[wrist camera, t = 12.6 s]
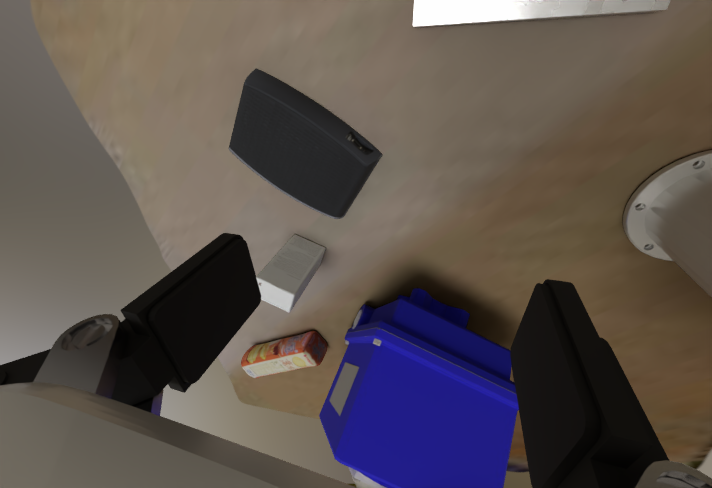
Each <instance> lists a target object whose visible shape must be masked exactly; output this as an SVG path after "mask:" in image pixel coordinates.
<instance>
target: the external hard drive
mask: <svg viewBox="0 0 712 488" xmlns="http://www.w3.org/2000/svg"><path fill="white" fill-rule="evenodd" d="M229 150H230V151H231V152H232V153H233V154H234V155H235V156H236V157H237V158H238V159H239V160H240V161H241V162H243V163H244V164H245V165H246V166H247V167H249V168H250V169H251V170H252V171H253V172H255V173H256V174H257V175H259V176H260V177H261V178H263V179H264V180H265V181H267V182H268V183H270V184H271V185H272V186H274V187H275V188H277V189H278V190H280V191H281V192H283V193H284V194H286V195H288V196H289V197H291V198H293V199H294V200H296V201H298V202H300V203H302V204H303V205H305V206H307V207H309V208H311V209H313V210H315V211H317V212H319V213H322V214H324V215H326V216H328V217H331V218H334V219H340V218H343V217H344V216H345V214H346V212H347V211H348V209H349V207H350V206H351V204H352V203H353V201H354V199H355V198H356V196H357V195H358V193H359V192H360V190H361V188H362V187H363V185H364V184H365V182H366V180H367V179H368V177H369V175H370V174H371V172H372V170H373V169H374V167H375V166H376V164H377V162H378V161H379V159H380V158H381V157H382V154H381V153H380V152H379V151H378V149H376V148H375V147H374V146H373V145H372V144H371V143H370V142H368V141H367V140H366V139H365V138H364V137H362V136H361V135H360V134H359V133H357V132H356V131H355V130H354V129H352V128H351V127H350V126H349V125H347V124H346V123H344V122H343V121H342V120H340V119H339V118H338V117H336V116H335V115H334V114H332V113H331V112H329V111H328V110H327V109H325V108H324V107H322V106H321V105H319V104H318V103H316V102H315V101H313V100H312V99H310V98H308V97H307V96H305V95H304V94H302V93H301V92H299V91H297V90H296V89H294V88H292V87H291V86H289V85H287V84H285V83H284V82H282V81H280V80H278V79H276V78H275V77H273V76H271V75H269V74H267V73H265V72H263V71H261V70H258V69H255V70H254V71H252V72H251V73H250V74H249V76H248V77H247V78H246V80H245V82H244V86H243V90H242V94H241V99H240V103H239V107H238V112H237V116H236V120H235V124H234V128H233V133H232V136H231V141H230V145H229Z"/></svg>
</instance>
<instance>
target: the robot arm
mask: <svg viewBox="0 0 712 488" xmlns="http://www.w3.org/2000/svg"><path fill="white" fill-rule="evenodd" d="M637 204H638V205H637ZM623 227H624V231H625V234H626V235H627V237H628V239H629V240H630V241H631V242H632V243H633V245H634V246H635V247H636V248H638V249H639V250H640V251H641V252H643V253H645V254H647V255H649V256H652V257H654V258H658V259H662V260H668V261H674V262H675V263H676V264H677V265H678V266H679V267H680V268H682V269H683V270H684V271H685V272H686V273H687V274H688V275H689V276H690V277H691V278H692V279H693V280H694V281H695V282H696V283H697V284H698V285H699V286H700V287H701V288H702V289H703V290H704V291H705V292H706V293H707V294H708V295H709V296H710V297H712V150H709V151H705V152H701V153H696V154H694V155H691V156H688V157H685V158H683V159H680V160H678V161H676V162H674V163H672V164H670V165H668V166H666V167H664V168H663V169H661V170H660V171H658V172H657V173H655V174H653V175H652V176H651V177H650V178H648V179H647V180H646V181H645V182H644V183H643V184H642V185H640V187H639V188H638V189H637V190H636V191H635V192H634V194H633V195H632V196H631V198H630V200H629V201H628V203H627V205H626V208H625V211H624V214H623ZM260 301H261V293H260V290H259V286H258V282H257V279H256V275H255V271H254V268H253V264H252V261H251V257H250V253H249V250H248V246H247V243H246V241H245V240H243V238H242V236H240V235H236V234H229V233H223V234H221V235H220V236H219V237H217V238H216V239H215V240H213V241H212V242H211V243H209V244H208V245H207V246H205V247H204V248H203V249H201V250H200V251H199V252H197V253H196V254H195V255H193V256H192V257H191V258H189V259H188V260H187V261H185V262H184V263H183V264H181V265H180V266H179V267H177V268H176V269H175V270H173V271H172V272H171V273H169V274H168V275H167V276H165V277H164V278H163V279H161V280H160V281H159V282H157V283H156V284H155V285H153V286H152V287H151V288H149V289H148V290H147V291H145V292H144V293H143V294H142V295H140V296H139V297H138V298H136V299H135V300H133V301H132V302H131V303H129V304H128V305H127V306H125V307H124V308H123V309H121V312H122V313H123V315H124V317H125V318H126V319H125V320H124V321H122V322H120V320H119V319H118V317H117V316H115V315H112V314H103V315H96V316H93V317H90V318H87V319H85V320H83V321H81V322H79V323H77V324H75V325H73V326H72V327H70V328H69V329H67V330H66V331H65V332H64V333H63V334H61V335H60V337H59V338H58V339H57V340H56V342H55V343H54V345H53V347H52V348H51V349H49V350H47V351H44V352H40V353H37V354H34V355H31V356H28V357H25V358H22V359H19V360H15V361H12V362H9V363H6V364H3V365H0V488H357V487H354V486H351V485H349V484H346V483H343V482H340V481H338V480H335V479H332V478H330V477H327V476H324V475H321V474H319V473H316V472H313V471H310V470H308V469H305V468H302V467H300V466H297V465H294V464H291V463H289V462H286V461H283V460H280V459H278V458H275V457H272V456H269V455H267V454H264V453H261V452H258V451H255V450H253V449H250V448H247V447H245V446H242V445H239V444H236V443H233V442H231V441H228V440H225V439H222V438H220V437H217V436H214V435H211V434H209V433H206V432H203V431H200V430H197V429H195V428H192V427H189V426H186V425H183V424H181V423H178V422H175V421H172V420H169V419H167V418H163V417H161V416H160V410H161V404H162V396H163V388H164V387H165V386H166V385H167V384H169V386H170V388H172V389H175V390H178V391H181V392H186V390H187V389H188V387H190V385H191V384H193V383H195V382H196V381H198V380H199V379H200V377H201V376H202V375H203V374H204V372H205V371H206V370H207V369H208V367H209V366H210V365H211V364H212V362H213V361H214V360H215V359H216V358H217V356H218V355H219V354H220V353H221V351H222V350H223V349H224V348H225V346H226V345H227V344H228V343H229V341H230V340H231V339H232V338H233V336H234V335H235V334H236V333H237V331H238V330H239V329H240V328H241V326H242V325H243V324H244V323H245V322H246V320H247V319H248V318H249V317H250V315H251V314H252V313H253V312H254V310H255V309H256V308H257V307H258V305H259V304H260ZM510 357H511V364H512V370H513V376H514V382H515V388H516V395H517V401H518V407H519V413H520V419H521V425H522V431H523V437H524V443H525V449H526V455H527V461H528V467H529V473H530V479H531V484H532V487H533V488H712V479H711V478H710V477H708V476H707V475H705V474H703V473H702V472H700V471H698V470H696V469H694V468H691V467H689V466H687V465H684V464H682V463H678V462H672V461H669V459H668V457H667V455H666V453H665V451H664V449H663V447H662V446H661V444H660V442H659V440H658V438H657V436H656V434H655V432H654V430H653V428H652V426H651V424H650V422H649V420H648V418H647V416H646V414H645V412H644V411H643V409H642V407H641V405H640V403H639V401H638V399H637V397H636V395H635V393H634V391H633V389H632V387H631V385H630V383H629V381H628V379H627V378H626V376H625V374H624V372H623V370H622V368H621V366H620V364H619V362H618V360H617V358H616V356H615V354H614V352H613V350H612V348H611V347H610V345H609V344H608V342H607V341H606V340H604V339H603V338H600V337H599V335H598V333H597V331H596V329H595V327H594V325H593V323H592V321H591V319H590V317H589V315H588V313H587V311H586V309H585V307H584V305H583V303H582V301H581V299H580V297H579V295H578V293H577V291H576V289H575V287H574V285H573V284H572V283H570V282H563V281H556V280H549V279H547V280H545V281H544V283H543V284H540V283H538V284H536V286H535V288H534V291H533V293H532V296H531V298H530V301H529V303H528V306H527V308H526V311H525V313H524V316H523V318H522V321H521V323H520V326H519V329H518V331H517V334H516V336H515V339H514V341H513V344H512V347H511V353H510Z"/></svg>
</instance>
